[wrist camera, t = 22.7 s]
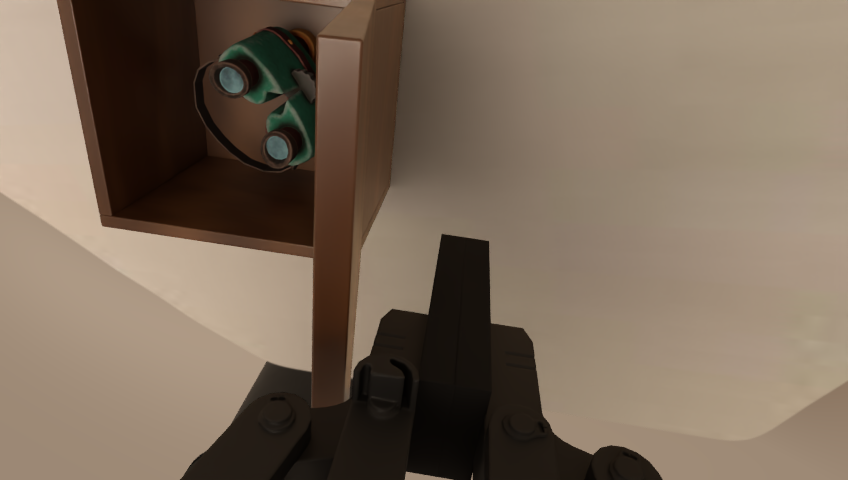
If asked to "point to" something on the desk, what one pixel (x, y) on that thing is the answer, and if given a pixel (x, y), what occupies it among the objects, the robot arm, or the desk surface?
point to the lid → (339, 193)
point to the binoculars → (268, 93)
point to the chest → (236, 118)
